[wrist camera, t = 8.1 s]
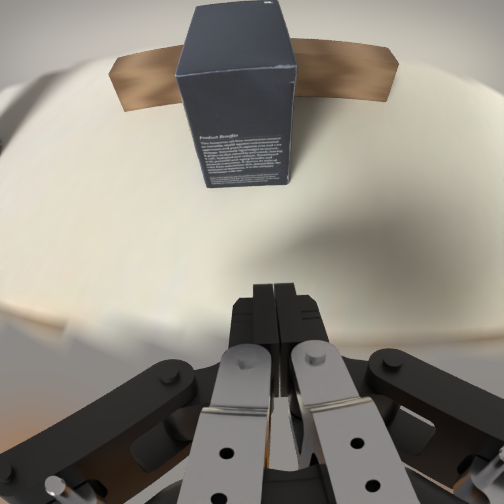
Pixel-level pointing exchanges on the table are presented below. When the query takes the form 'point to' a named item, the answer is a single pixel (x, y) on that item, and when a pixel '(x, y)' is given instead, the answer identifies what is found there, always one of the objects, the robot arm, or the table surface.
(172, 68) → the walnut board
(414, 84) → the table surface
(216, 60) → the small box
